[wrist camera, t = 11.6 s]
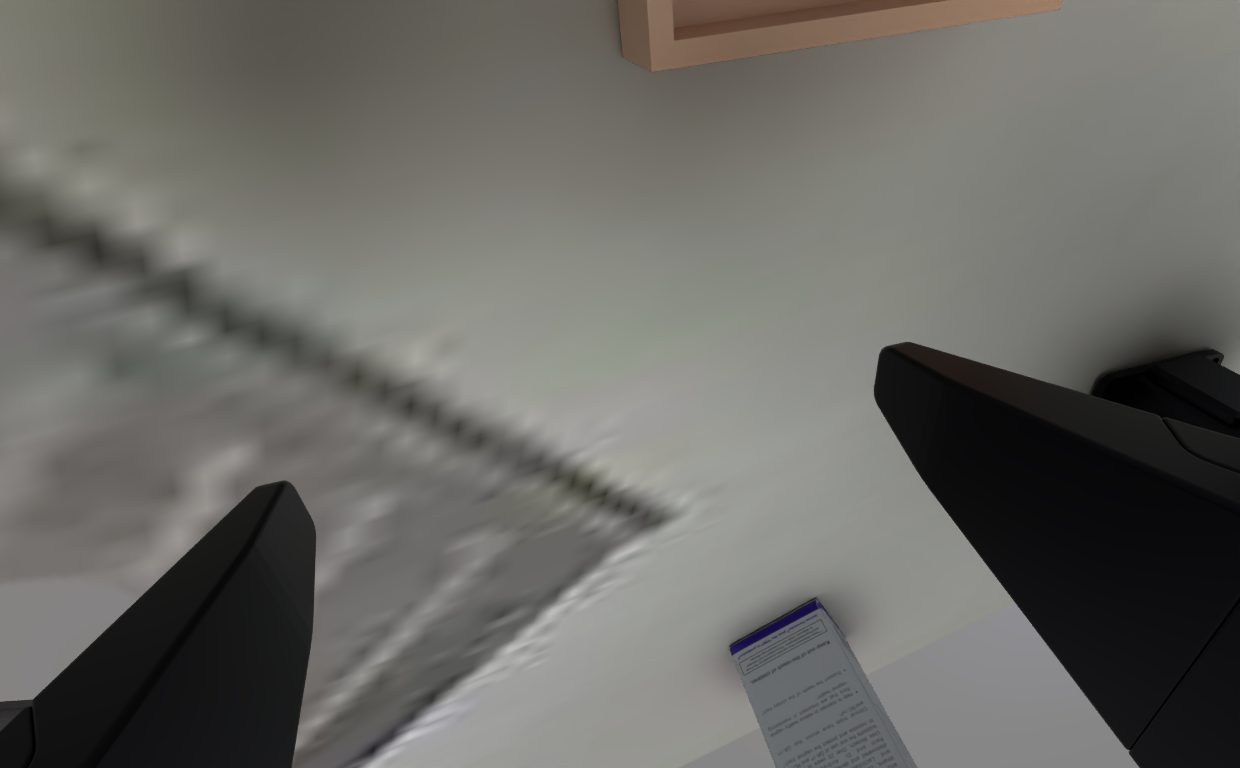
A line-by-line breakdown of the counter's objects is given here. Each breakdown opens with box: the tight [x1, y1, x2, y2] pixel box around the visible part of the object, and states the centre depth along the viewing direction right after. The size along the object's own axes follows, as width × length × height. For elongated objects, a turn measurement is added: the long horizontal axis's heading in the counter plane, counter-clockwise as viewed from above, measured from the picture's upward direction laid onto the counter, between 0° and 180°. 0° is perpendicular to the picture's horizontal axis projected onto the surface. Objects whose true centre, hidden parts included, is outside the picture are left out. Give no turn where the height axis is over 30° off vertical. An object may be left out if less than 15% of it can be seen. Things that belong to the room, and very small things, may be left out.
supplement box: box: [730, 599, 917, 768], centre depth 32 cm, size 6×6×12 cm
